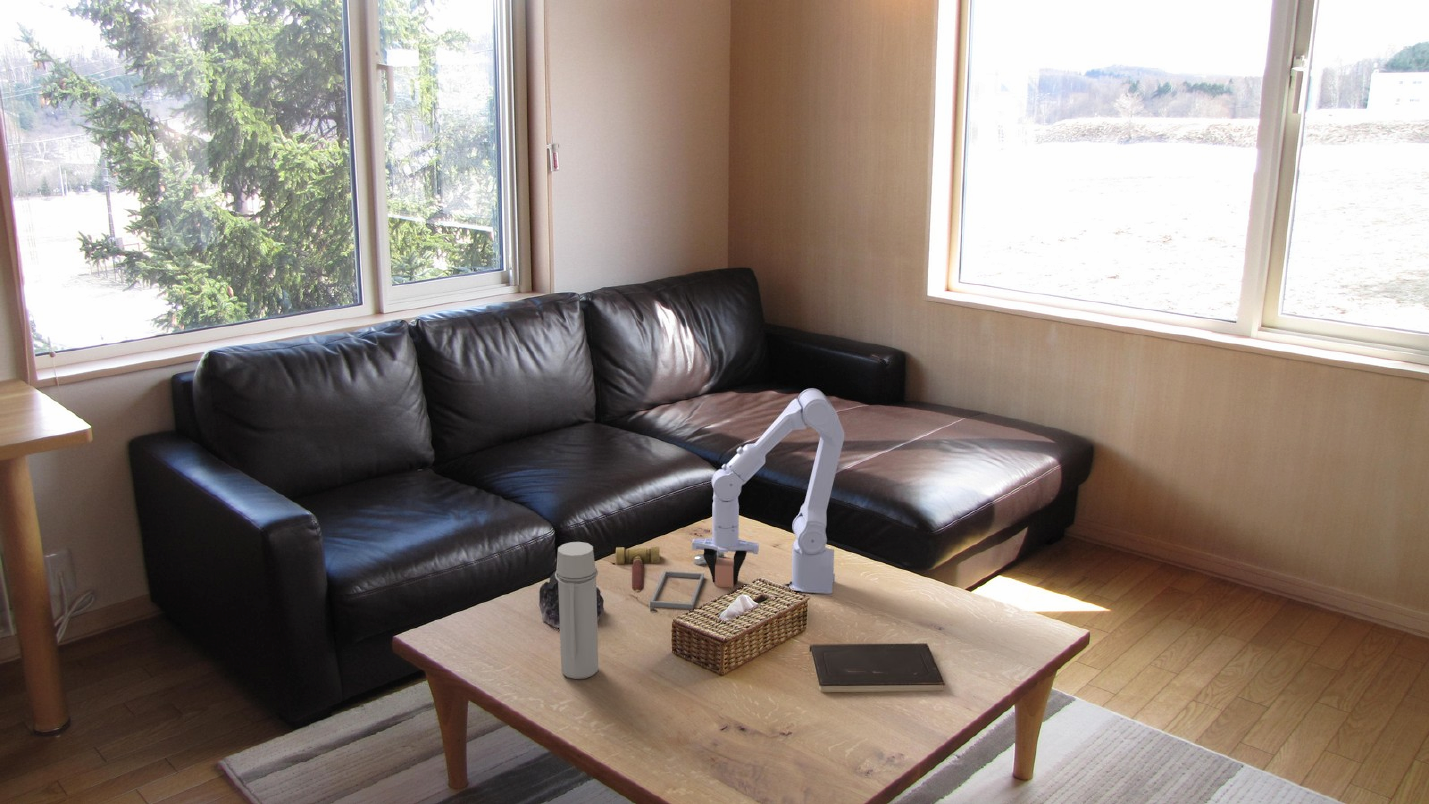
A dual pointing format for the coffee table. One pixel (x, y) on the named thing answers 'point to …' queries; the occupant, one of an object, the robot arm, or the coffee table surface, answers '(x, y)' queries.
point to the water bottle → (577, 609)
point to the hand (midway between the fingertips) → (725, 581)
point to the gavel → (637, 562)
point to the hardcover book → (875, 667)
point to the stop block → (724, 572)
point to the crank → (701, 561)
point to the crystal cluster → (551, 602)
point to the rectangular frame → (673, 604)
